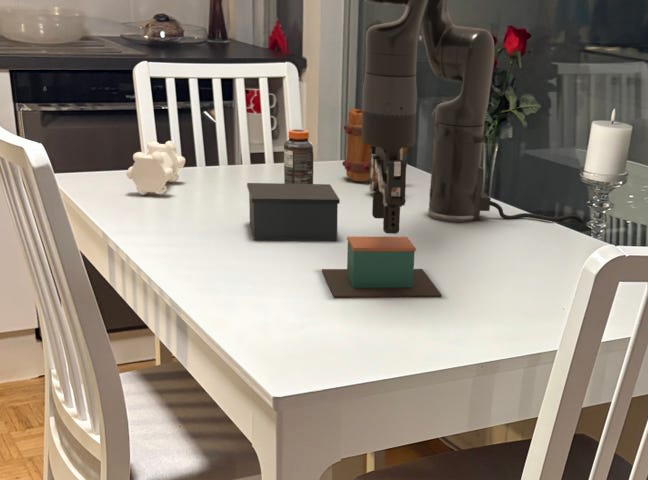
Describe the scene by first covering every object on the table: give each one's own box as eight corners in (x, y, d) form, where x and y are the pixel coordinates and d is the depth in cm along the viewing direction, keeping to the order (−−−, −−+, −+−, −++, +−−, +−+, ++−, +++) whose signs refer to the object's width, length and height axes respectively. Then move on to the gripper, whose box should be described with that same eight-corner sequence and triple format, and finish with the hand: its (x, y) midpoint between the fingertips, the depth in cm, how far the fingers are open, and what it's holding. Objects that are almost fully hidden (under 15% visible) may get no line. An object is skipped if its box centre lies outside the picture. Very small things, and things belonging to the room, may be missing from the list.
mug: (335, 180, 209) (336, 106, 202) (349, 174, 216) (351, 102, 208) (399, 189, 205) (402, 114, 198) (411, 182, 212) (415, 110, 205)
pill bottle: (315, 185, 203) (316, 129, 198) (310, 191, 198) (310, 133, 192) (287, 183, 203) (287, 126, 198) (281, 189, 198) (280, 131, 193)
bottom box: (329, 223, 176) (330, 184, 173) (338, 240, 167) (339, 199, 163) (248, 222, 173) (247, 182, 170) (252, 240, 163) (251, 198, 160)
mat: (422, 271, 154) (422, 268, 154) (441, 297, 143) (441, 294, 143) (321, 271, 150) (321, 269, 150) (333, 298, 139) (333, 295, 139)
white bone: (172, 198, 185) (169, 154, 181) (126, 195, 185) (122, 151, 181) (187, 181, 198) (185, 140, 194) (144, 179, 198) (141, 137, 194)
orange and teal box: (405, 275, 150) (407, 236, 147) (413, 287, 145) (415, 248, 142) (346, 275, 148) (347, 236, 145) (352, 288, 143) (353, 247, 140)
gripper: (427, 117, 130) (420, 238, 137) (405, 101, 142) (400, 213, 149) (372, 116, 128) (368, 238, 136) (354, 99, 140) (352, 213, 148)
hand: (385, 225), depth 143 cm, fingers open, 8 cm apart
